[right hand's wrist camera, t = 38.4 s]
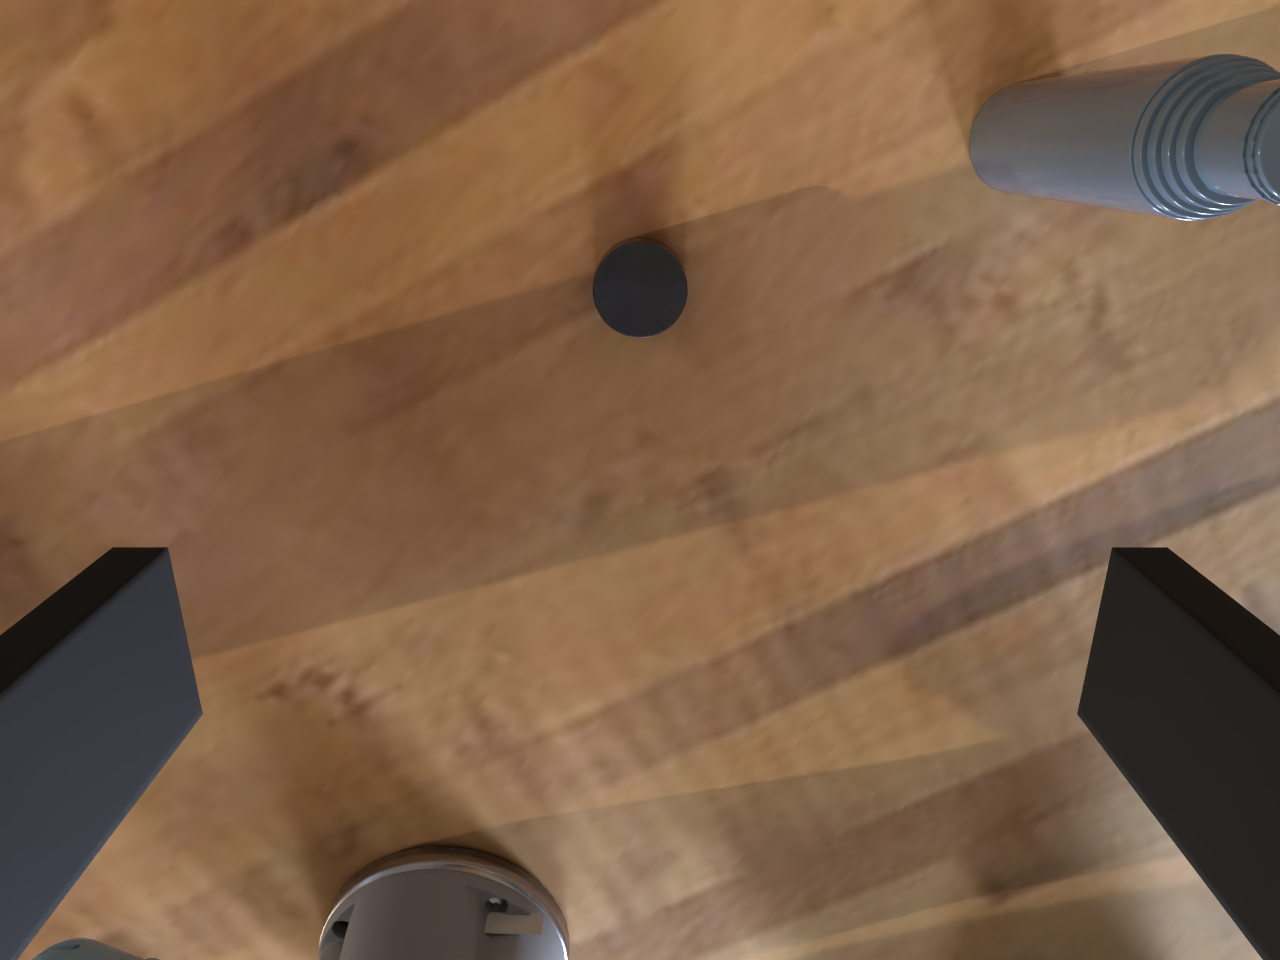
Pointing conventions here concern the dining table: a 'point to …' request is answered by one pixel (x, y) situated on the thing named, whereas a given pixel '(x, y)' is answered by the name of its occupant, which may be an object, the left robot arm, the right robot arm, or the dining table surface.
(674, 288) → the cap
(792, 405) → the dining table surface
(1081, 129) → the bottle
